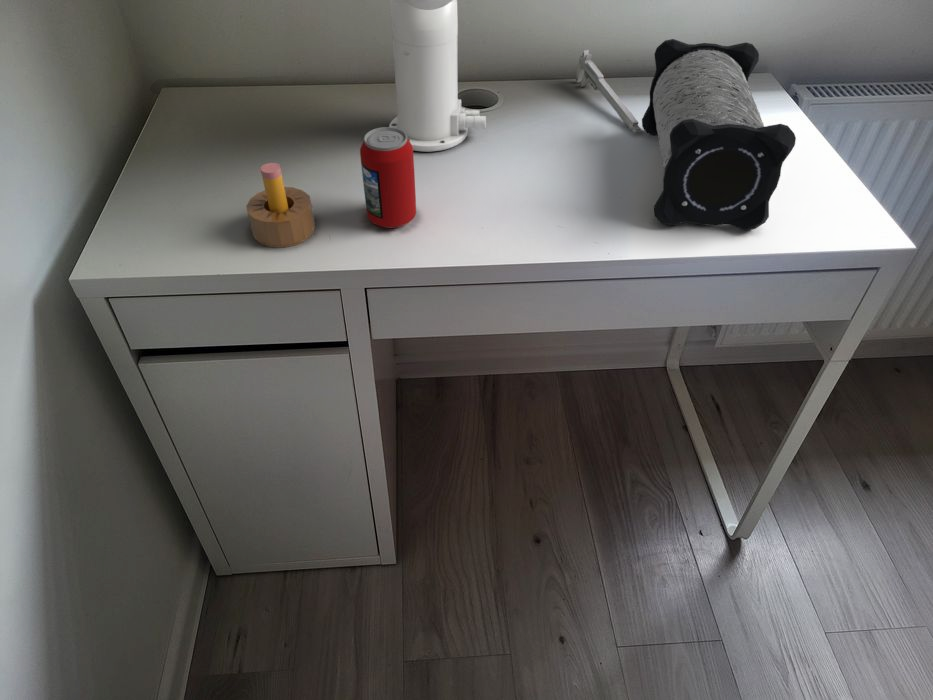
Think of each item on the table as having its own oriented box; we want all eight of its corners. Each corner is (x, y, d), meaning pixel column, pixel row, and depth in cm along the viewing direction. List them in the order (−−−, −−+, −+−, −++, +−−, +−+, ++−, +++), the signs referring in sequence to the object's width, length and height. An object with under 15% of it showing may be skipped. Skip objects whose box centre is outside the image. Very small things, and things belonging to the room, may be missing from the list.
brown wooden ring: (321, 213, 98) (317, 188, 95) (306, 249, 92) (301, 223, 89) (263, 210, 98) (257, 185, 96) (245, 245, 93) (238, 220, 90)
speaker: (732, 133, 114) (760, 38, 104) (765, 238, 94) (804, 133, 84) (638, 128, 115) (656, 33, 105) (651, 230, 95) (675, 126, 85)
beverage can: (367, 205, 99) (358, 125, 91) (415, 203, 100) (411, 123, 91) (367, 233, 95) (357, 151, 86) (417, 231, 95) (413, 149, 87)
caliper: (575, 82, 127) (579, 47, 123) (580, 81, 128) (584, 46, 123) (635, 134, 114) (642, 97, 110) (641, 133, 114) (648, 96, 110)
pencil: (294, 222, 96) (282, 163, 89) (289, 233, 94) (277, 173, 88) (276, 221, 96) (263, 162, 90) (271, 232, 94) (258, 172, 88)
